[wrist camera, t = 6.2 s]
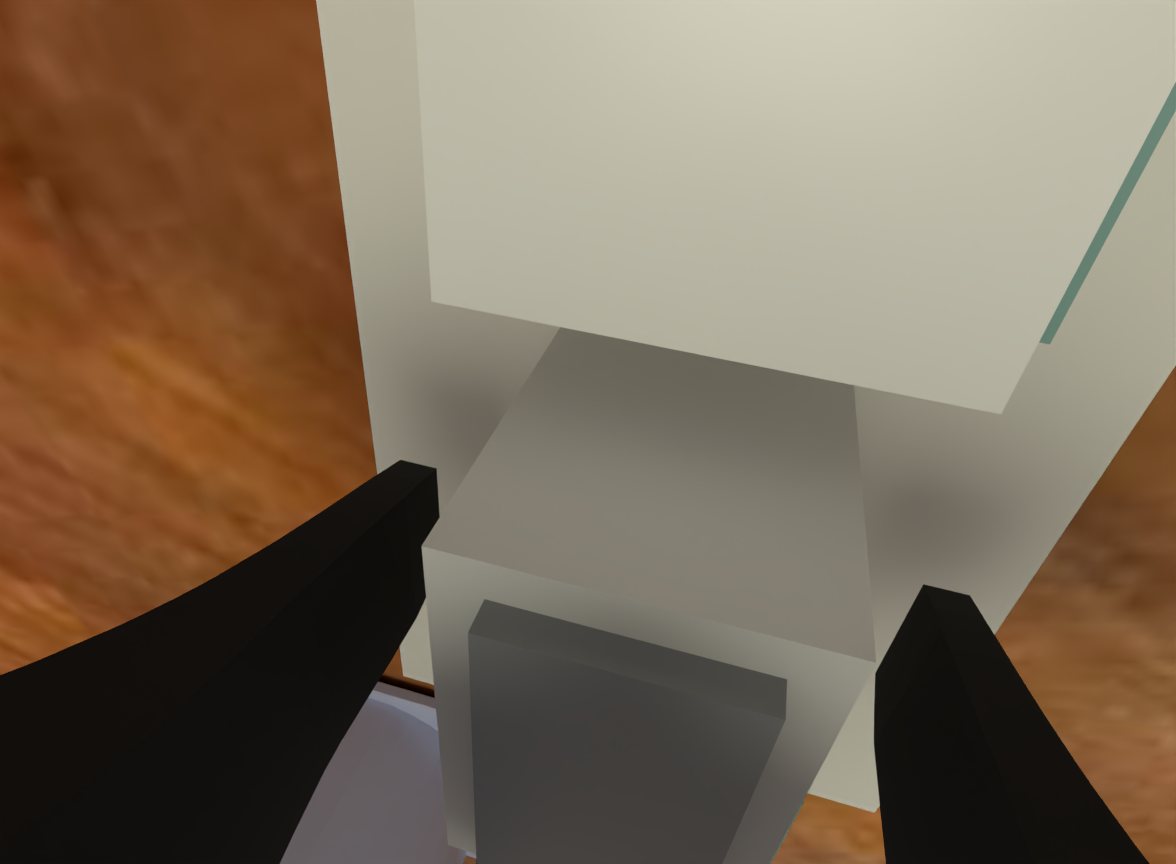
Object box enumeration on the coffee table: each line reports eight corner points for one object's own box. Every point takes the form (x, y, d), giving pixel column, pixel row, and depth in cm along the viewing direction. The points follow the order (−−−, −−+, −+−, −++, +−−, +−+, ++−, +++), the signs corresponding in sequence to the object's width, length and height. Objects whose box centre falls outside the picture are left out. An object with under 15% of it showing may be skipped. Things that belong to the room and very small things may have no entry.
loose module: (759, 597, 14) (727, 972, 9) (566, 549, 15) (435, 875, 10) (849, 330, 10) (879, 705, 5) (588, 282, 11) (400, 578, 6)
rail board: (872, 775, 19) (875, 832, 18) (418, 647, 21) (395, 691, 20) (1527, -271, 7) (1675, -311, 6) (318, -331, 9) (242, -371, 8)
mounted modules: (757, 781, 18) (747, 939, 15) (514, 710, 19) (463, 846, 16) (1197, -215, 7) (1468, -312, 4) (545, -256, 8) (394, -357, 5)
